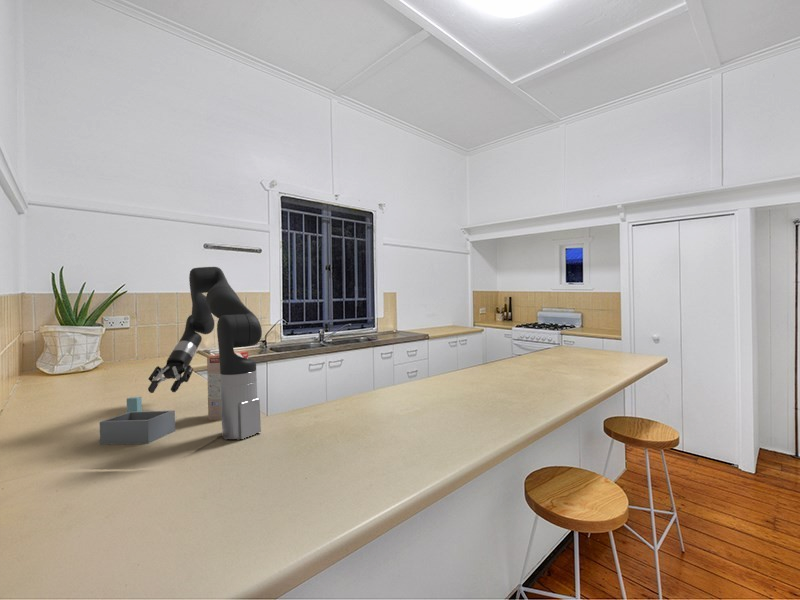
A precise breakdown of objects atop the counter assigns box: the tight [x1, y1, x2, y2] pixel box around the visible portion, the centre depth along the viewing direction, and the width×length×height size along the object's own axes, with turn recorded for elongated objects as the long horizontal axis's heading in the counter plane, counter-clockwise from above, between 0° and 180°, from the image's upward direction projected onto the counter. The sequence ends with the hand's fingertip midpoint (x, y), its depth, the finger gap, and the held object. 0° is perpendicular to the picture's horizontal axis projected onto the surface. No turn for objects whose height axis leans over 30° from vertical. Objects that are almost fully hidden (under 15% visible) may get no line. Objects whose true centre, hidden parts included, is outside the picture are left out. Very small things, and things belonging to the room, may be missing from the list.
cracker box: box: [206, 350, 249, 421], centre depth 124 cm, size 14×6×21 cm, turn 168°
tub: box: [99, 410, 176, 445], centre depth 103 cm, size 14×10×6 cm
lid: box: [126, 396, 143, 413], centre depth 120 cm, size 15×11×9 cm
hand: (161, 391), depth 132 cm, fingers open, 8 cm apart
